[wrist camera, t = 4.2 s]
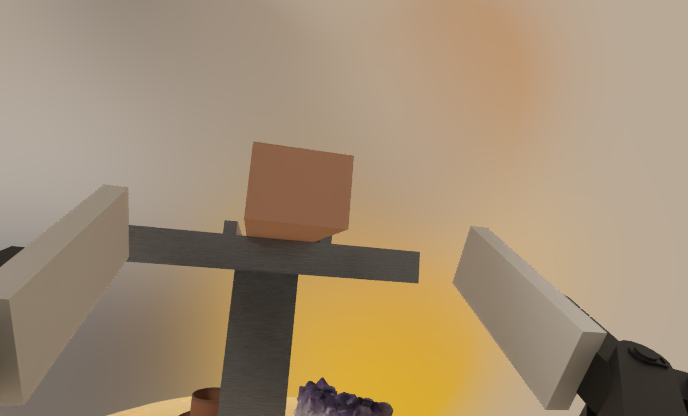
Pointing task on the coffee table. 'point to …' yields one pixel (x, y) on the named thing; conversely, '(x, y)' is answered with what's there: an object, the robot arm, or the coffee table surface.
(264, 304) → the stand
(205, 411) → the cup and saucer
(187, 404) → the coffee table surface
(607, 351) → the robot arm
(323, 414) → the geode
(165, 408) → the coffee table surface
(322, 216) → the block
